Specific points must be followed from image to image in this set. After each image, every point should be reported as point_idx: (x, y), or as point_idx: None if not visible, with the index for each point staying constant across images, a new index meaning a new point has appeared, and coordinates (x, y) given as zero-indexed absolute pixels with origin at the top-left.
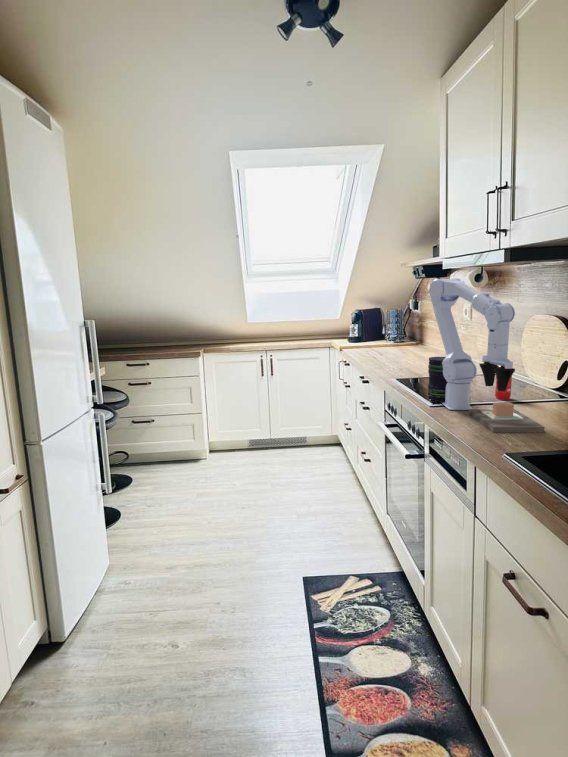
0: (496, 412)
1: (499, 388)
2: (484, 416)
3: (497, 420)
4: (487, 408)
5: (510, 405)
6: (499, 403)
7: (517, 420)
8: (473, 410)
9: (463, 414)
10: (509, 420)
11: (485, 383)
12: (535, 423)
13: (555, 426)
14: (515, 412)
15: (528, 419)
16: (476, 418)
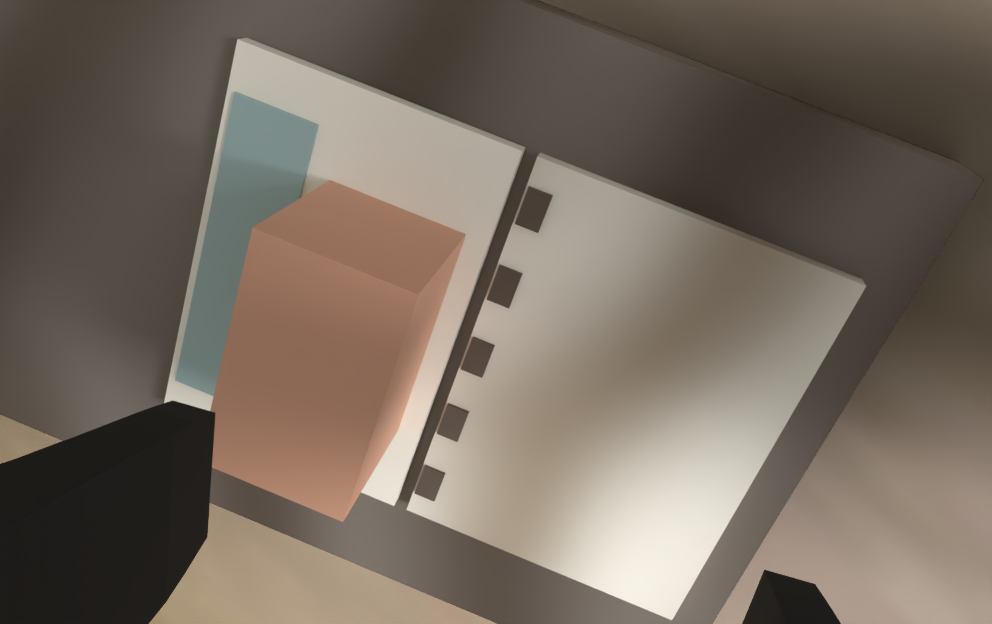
0: (309, 196)
1: (119, 427)
2: (449, 67)
3: (203, 84)
4: (780, 407)
5: None
6: (327, 338)
7: (153, 315)
8: (849, 177)
9: (958, 44)
10: (173, 231)
11: (815, 613)
12: (8, 388)
13: None
14: (491, 576)
15: None
16: (589, 20)
